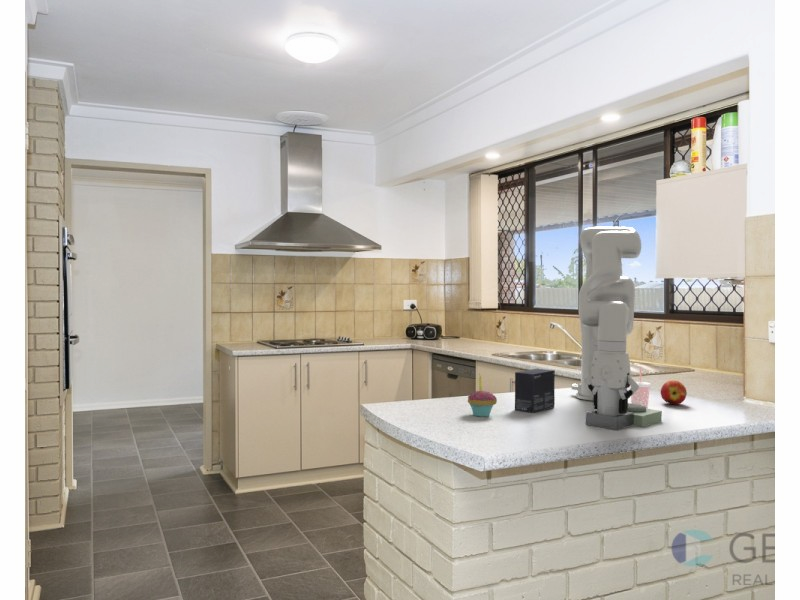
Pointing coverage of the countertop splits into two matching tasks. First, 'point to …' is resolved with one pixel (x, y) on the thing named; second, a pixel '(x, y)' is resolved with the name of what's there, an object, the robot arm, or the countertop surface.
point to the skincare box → (608, 400)
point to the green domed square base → (644, 415)
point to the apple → (673, 392)
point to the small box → (534, 390)
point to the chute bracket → (609, 420)
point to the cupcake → (481, 401)
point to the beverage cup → (641, 393)
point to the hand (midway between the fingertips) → (610, 410)
